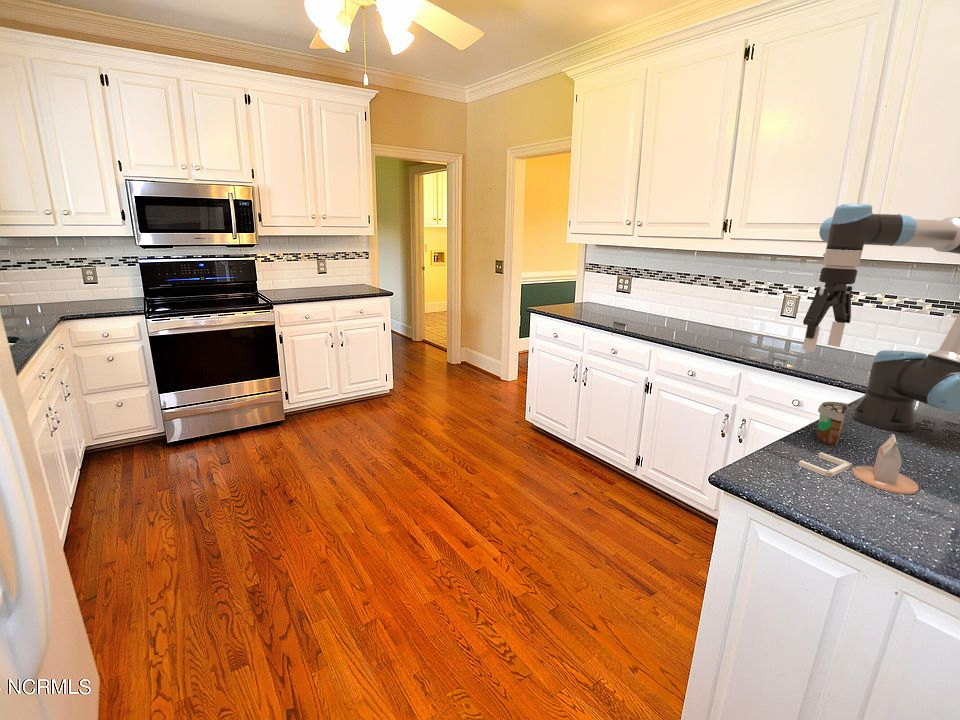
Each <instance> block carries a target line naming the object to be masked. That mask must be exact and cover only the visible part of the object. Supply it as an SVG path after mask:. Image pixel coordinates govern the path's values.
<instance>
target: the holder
mask: <svg viewBox="0 0 960 720" xmlns="http://www.w3.org/2000/svg"><path fill="white" fill-rule="evenodd" d="M817 457H818V458H819V459H822V460H824V461H827V462H829V463H833V464H836V465H837V466H836V467H833V468H830V469H829V470H827V469H825V468H822V467H821V466H817V465H816V464H815V465H814V464H811V463H809V462H807V461H804V460H799V461H798V464H797V465H798V466H799V467H801V468H802V469H803V468H804V469H806V470H809V471H811V472H814V473H816V474H818V475H822V476H824V477H825V478H826V477H827V478H828V479H830V478H832V477H834V476H836V475H839V474H840V473H843V472H845V471H847V470H849V469H851V468H852V466H853V463H852V462H849V461H848V460H843V459H841V458H838V457H835V456H832V455H830V454H827V453H825V452H822V451H821V452H819V453H818V456H817Z"/></svg>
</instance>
